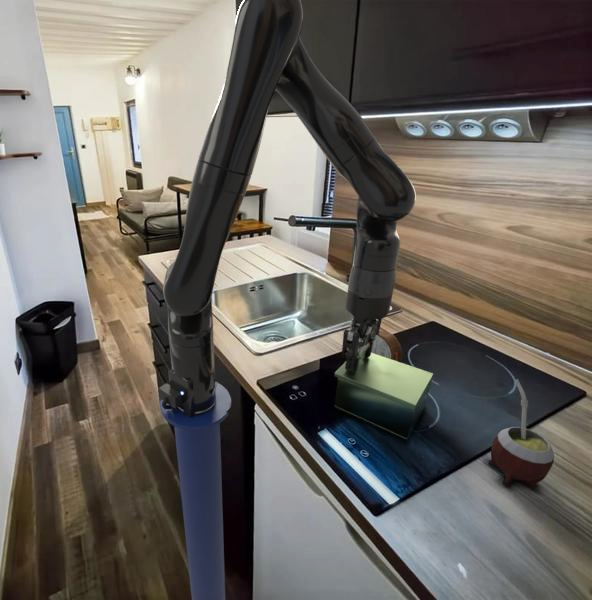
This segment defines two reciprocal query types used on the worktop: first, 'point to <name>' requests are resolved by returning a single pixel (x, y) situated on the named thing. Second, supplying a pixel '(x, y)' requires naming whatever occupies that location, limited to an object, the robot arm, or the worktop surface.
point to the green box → (378, 409)
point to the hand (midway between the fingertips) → (357, 362)
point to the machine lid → (388, 378)
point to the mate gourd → (521, 452)
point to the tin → (387, 345)
